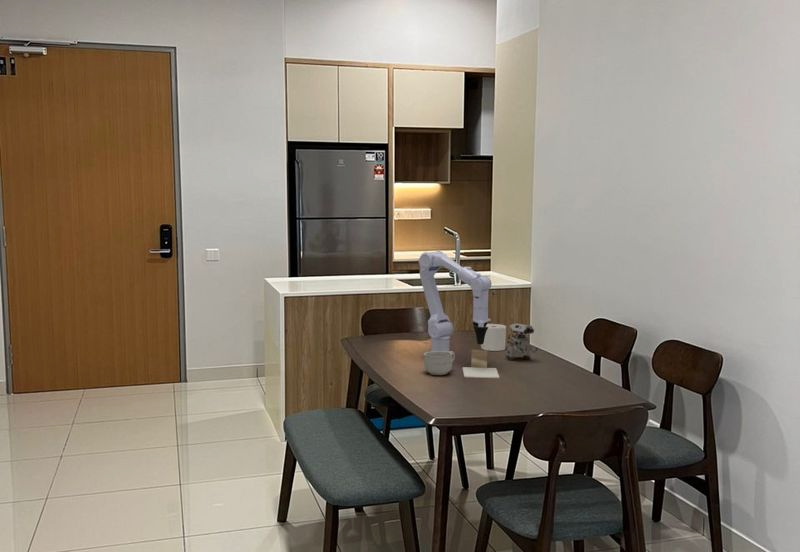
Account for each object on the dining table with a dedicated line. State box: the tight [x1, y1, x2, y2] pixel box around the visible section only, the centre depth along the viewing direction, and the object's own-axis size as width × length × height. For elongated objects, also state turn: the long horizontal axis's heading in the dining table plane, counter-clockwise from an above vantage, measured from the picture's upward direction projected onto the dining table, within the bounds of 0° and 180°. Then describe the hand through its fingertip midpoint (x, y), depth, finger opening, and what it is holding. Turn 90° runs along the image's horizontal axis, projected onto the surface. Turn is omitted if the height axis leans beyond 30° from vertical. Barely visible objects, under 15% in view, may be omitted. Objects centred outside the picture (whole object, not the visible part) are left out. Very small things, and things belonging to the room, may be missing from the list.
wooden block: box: [470, 349, 488, 368], centre depth 300 cm, size 2×6×7 cm, turn 88°
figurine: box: [505, 322, 538, 361], centre depth 313 cm, size 9×12×15 cm
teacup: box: [423, 350, 456, 376], centre depth 290 cm, size 14×11×8 cm
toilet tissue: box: [480, 323, 507, 352], centre depth 335 cm, size 11×12×10 cm
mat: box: [462, 366, 500, 379], centre depth 292 cm, size 14×13×1 cm
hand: (479, 342), depth 298 cm, fingers open, 7 cm apart
